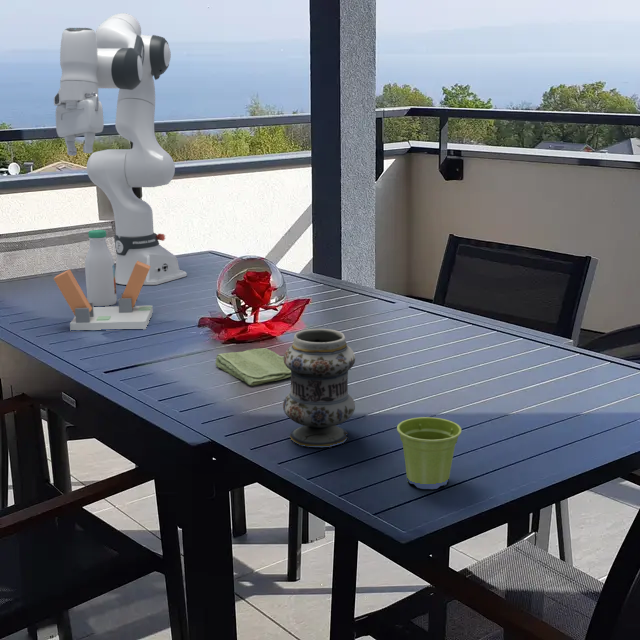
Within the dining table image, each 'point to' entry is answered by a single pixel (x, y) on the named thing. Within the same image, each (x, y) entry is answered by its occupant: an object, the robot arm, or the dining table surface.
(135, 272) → the lever
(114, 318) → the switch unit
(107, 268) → the milk bottle
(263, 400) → the dining table surface
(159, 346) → the dining table surface
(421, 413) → the dining table surface
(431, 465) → the plant pot
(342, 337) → the apothecary jar
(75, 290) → the lever
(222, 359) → the washcloth
